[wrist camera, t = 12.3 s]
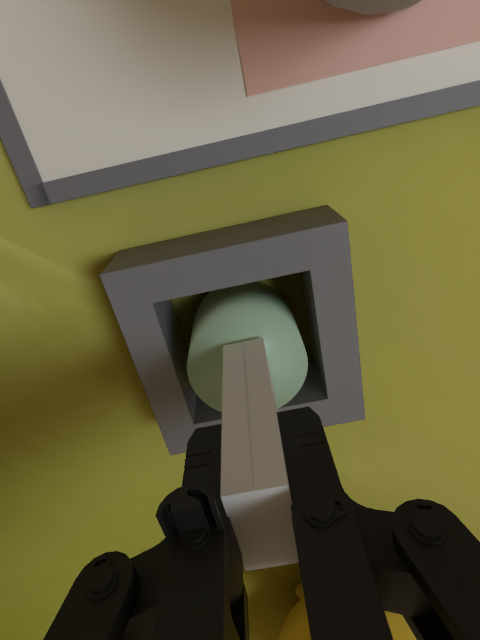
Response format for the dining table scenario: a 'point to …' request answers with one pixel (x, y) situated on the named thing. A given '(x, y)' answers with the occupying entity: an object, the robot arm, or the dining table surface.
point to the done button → (245, 339)
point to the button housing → (231, 270)
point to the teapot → (298, 633)
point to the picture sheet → (213, 82)
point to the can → (372, 5)
